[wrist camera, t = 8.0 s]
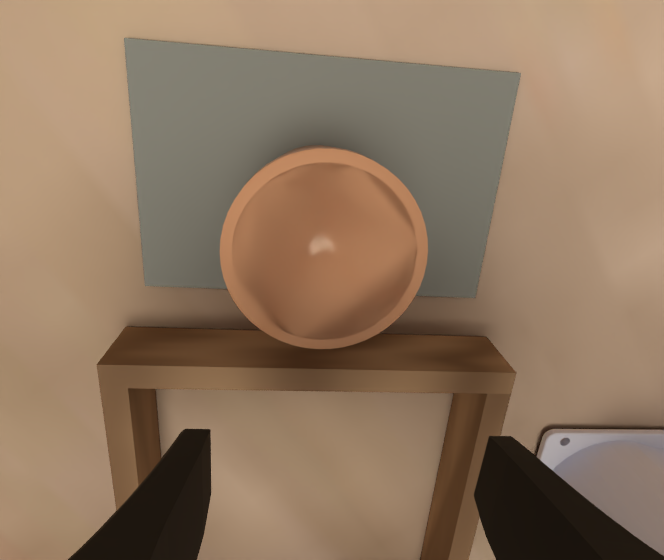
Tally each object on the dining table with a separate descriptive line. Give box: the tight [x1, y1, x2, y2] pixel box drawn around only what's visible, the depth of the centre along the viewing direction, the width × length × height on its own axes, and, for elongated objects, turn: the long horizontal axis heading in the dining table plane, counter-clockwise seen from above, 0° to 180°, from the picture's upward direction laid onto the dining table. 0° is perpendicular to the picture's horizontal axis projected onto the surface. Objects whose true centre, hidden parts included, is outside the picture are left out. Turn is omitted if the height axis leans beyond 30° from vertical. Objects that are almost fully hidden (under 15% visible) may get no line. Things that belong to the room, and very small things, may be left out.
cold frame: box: [97, 327, 516, 560], centre depth 21 cm, size 16×16×3 cm
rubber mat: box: [124, 38, 521, 298], centre depth 17 cm, size 14×9×1 cm, turn 86°
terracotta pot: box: [220, 145, 428, 349], centre depth 15 cm, size 6×6×6 cm
